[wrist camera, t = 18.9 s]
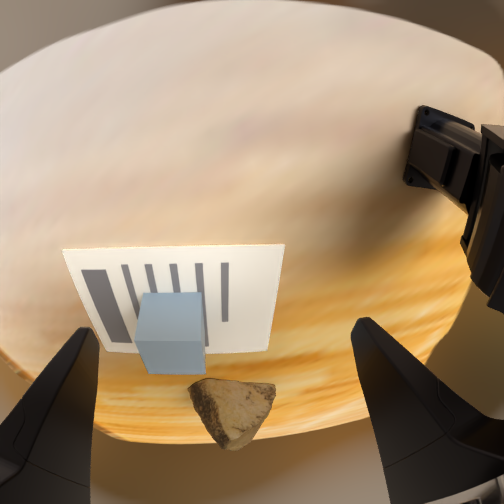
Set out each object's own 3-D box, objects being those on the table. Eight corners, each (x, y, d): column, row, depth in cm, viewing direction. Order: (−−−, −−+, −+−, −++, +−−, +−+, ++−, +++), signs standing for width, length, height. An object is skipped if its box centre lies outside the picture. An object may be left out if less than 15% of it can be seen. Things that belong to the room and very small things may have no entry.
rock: (300, 391, 34) (248, 383, 28) (282, 449, 30) (226, 454, 24) (243, 375, 41) (191, 361, 35) (228, 424, 38) (174, 419, 32)
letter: (284, 243, 22) (285, 245, 22) (266, 349, 30) (267, 351, 30) (62, 249, 20) (61, 251, 19) (107, 350, 28) (106, 351, 28)
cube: (201, 292, 24) (201, 340, 20) (204, 329, 27) (205, 374, 23) (143, 292, 23) (134, 340, 19) (153, 329, 26) (148, 373, 22)
